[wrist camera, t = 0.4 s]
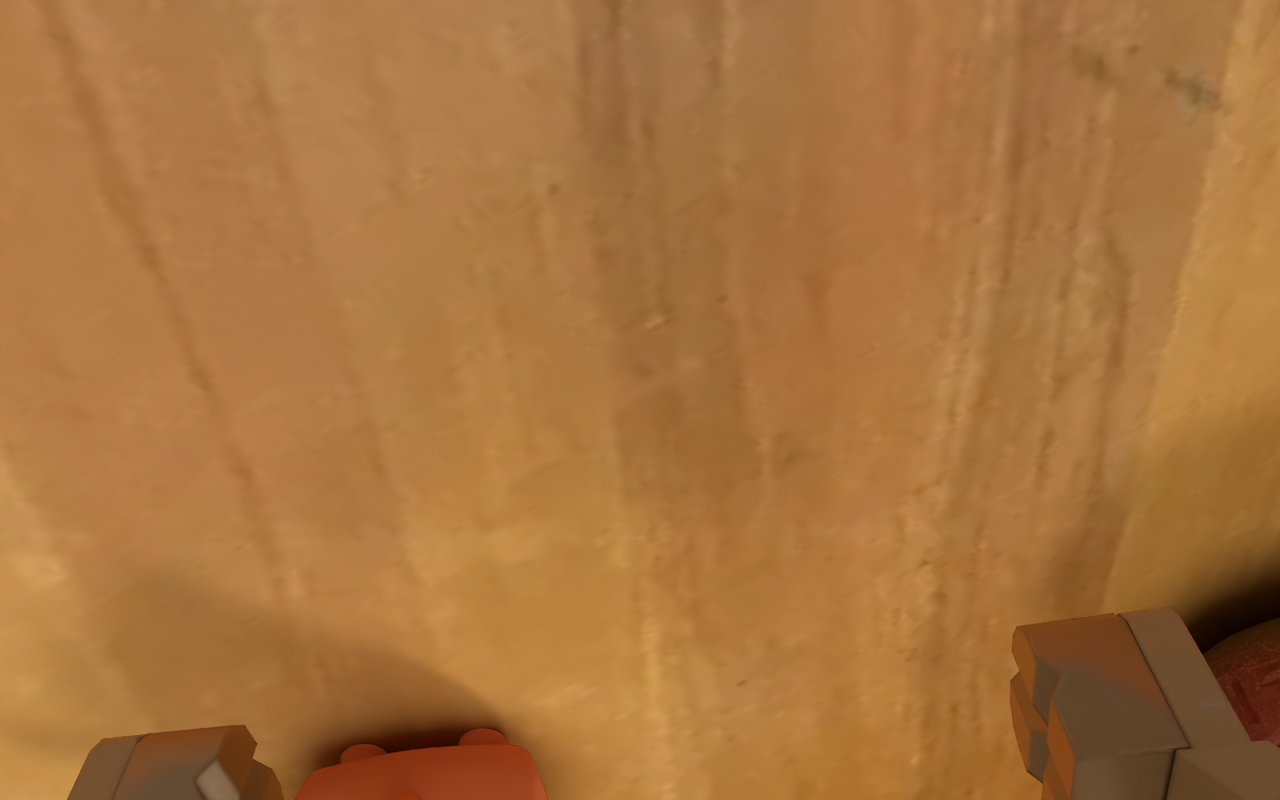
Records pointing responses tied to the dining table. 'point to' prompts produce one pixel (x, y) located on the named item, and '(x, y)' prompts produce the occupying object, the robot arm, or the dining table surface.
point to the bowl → (1251, 677)
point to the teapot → (431, 773)
